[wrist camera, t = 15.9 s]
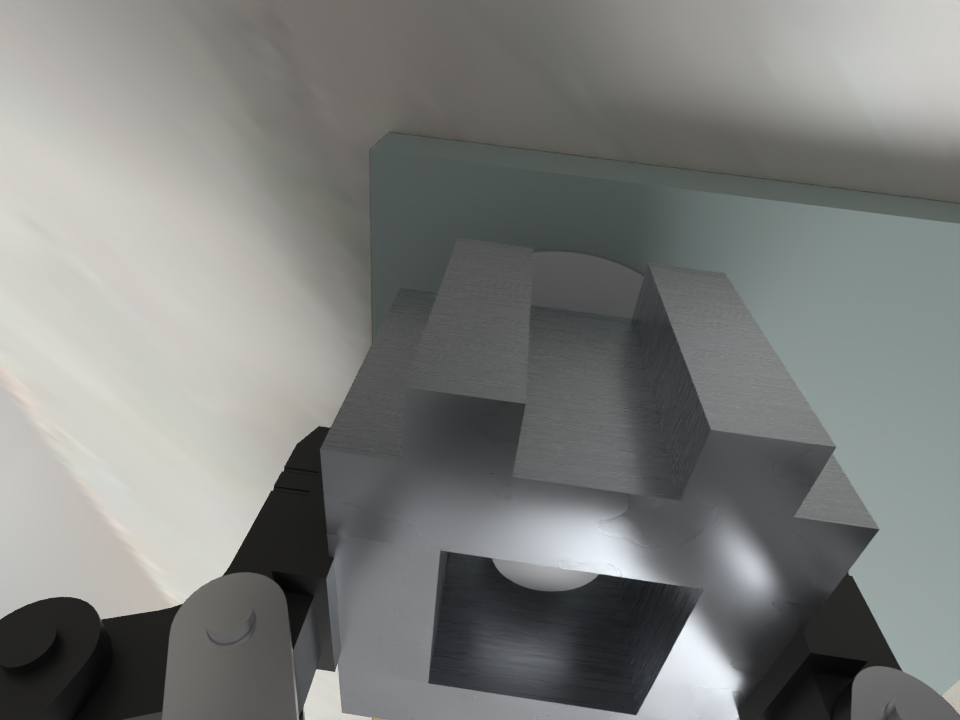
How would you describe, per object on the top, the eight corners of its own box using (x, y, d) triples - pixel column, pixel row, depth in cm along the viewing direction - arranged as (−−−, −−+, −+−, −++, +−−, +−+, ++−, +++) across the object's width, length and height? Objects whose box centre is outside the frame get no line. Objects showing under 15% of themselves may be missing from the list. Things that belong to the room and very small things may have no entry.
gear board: (1308, 246, 11) (1969, 467, 6) (827, 738, 22) (908, 950, 17) (389, 132, 11) (263, 242, 6) (386, 670, 23) (341, 858, 18)
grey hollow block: (783, 280, 9) (931, 460, 5) (647, 589, 13) (681, 792, 10) (401, 230, 9) (313, 374, 5) (394, 552, 13) (344, 739, 10)
